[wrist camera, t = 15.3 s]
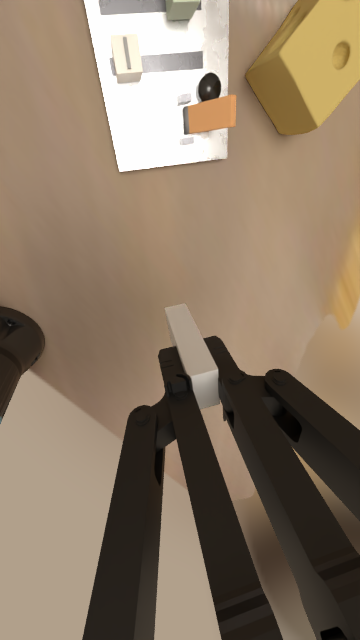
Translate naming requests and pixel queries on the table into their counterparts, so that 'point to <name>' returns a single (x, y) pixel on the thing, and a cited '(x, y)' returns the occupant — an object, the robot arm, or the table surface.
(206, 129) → the lever orange
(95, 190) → the table surface
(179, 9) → the slider sage
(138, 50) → the slider ivory
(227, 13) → the panel
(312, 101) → the cheese
